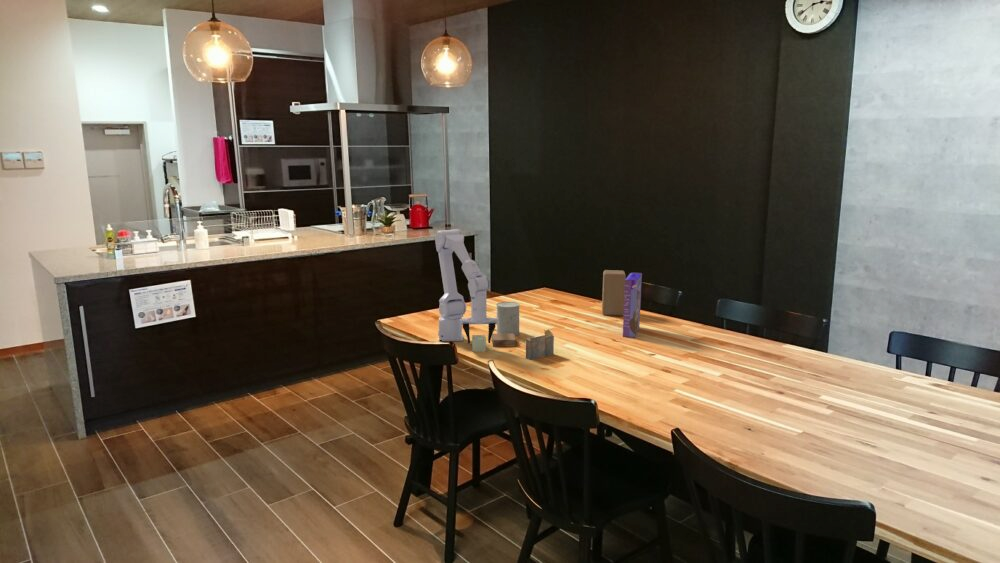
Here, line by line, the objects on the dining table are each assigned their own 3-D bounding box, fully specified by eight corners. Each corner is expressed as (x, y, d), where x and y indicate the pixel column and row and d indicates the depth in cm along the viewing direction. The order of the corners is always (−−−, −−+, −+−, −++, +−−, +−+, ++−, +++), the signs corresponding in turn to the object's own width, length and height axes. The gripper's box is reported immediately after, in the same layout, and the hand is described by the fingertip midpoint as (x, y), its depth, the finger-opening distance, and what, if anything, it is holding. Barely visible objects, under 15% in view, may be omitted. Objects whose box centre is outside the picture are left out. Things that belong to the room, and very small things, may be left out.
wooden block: (601, 310, 302) (603, 269, 298) (623, 311, 300) (624, 270, 297) (602, 315, 292) (603, 273, 288) (624, 316, 291) (625, 273, 287)
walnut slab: (492, 346, 244) (492, 340, 243) (491, 339, 253) (491, 333, 252) (515, 345, 244) (515, 339, 244) (513, 339, 253) (513, 333, 253)
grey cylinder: (520, 330, 266) (520, 302, 264) (518, 336, 257) (518, 307, 255) (498, 329, 268) (498, 301, 265) (495, 335, 258) (495, 306, 256)
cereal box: (634, 337, 256) (637, 280, 252) (622, 336, 258) (625, 279, 253) (639, 327, 272) (641, 272, 268) (628, 326, 274) (630, 272, 269)
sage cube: (472, 351, 237) (472, 338, 237) (472, 347, 242) (472, 335, 241) (485, 351, 238) (485, 338, 237) (485, 347, 243) (485, 335, 242)
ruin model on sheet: (548, 353, 237) (548, 328, 235) (553, 355, 234) (554, 330, 232) (524, 359, 230) (525, 333, 228) (530, 361, 227) (530, 335, 226)
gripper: (459, 310, 233) (460, 346, 235) (498, 310, 233) (498, 345, 236) (459, 306, 239) (460, 340, 242) (497, 305, 240) (497, 340, 243)
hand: (479, 342), depth 240 cm, fingers open, 7 cm apart
